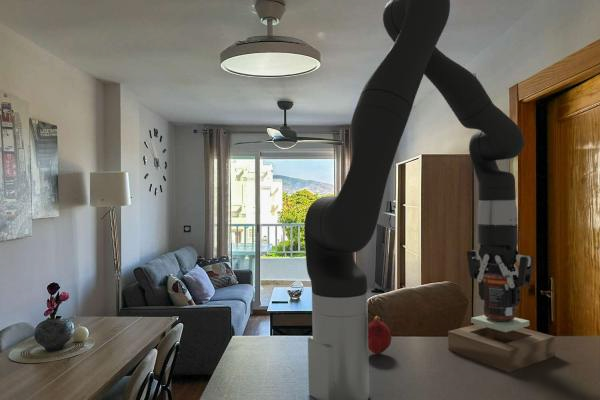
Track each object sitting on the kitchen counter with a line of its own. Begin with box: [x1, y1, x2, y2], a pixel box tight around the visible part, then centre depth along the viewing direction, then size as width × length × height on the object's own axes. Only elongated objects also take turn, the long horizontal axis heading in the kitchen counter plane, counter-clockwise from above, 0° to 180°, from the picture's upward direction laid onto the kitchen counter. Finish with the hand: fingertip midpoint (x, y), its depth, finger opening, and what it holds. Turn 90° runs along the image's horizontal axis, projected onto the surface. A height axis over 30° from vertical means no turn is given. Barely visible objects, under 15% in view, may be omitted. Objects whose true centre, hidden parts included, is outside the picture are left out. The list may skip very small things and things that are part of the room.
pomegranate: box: [368, 315, 392, 356], centre depth 88 cm, size 6×6×8 cm
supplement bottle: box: [483, 263, 516, 320], centre depth 88 cm, size 6×6×11 cm
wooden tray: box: [447, 324, 556, 373], centre depth 88 cm, size 15×14×4 cm
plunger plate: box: [470, 314, 530, 332], centre depth 88 cm, size 8×8×1 cm
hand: (499, 302), depth 88 cm, fingers closed on supplement bottle, 6 cm apart
